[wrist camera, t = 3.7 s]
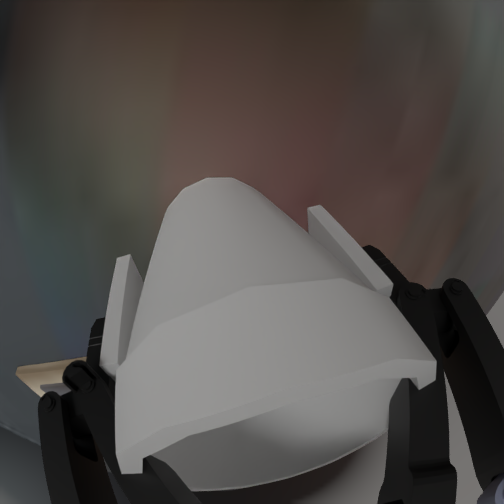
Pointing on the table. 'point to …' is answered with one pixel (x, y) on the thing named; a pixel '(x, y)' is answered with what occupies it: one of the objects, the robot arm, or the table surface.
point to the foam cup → (254, 348)
